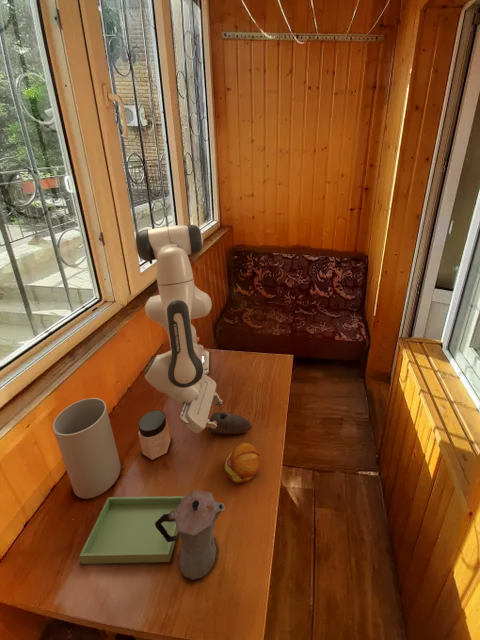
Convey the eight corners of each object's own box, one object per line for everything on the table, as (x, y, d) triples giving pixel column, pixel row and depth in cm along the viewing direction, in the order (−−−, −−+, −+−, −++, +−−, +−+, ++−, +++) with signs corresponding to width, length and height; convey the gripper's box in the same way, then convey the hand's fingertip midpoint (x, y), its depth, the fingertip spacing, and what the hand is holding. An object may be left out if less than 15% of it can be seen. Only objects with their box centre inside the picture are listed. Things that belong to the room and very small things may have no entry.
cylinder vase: (123, 453, 102) (109, 393, 94) (118, 491, 91) (101, 427, 82) (79, 466, 98) (60, 404, 89) (68, 506, 87) (45, 441, 78)
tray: (110, 504, 88) (108, 496, 87) (185, 503, 88) (184, 495, 87) (81, 563, 75) (79, 555, 74) (169, 562, 76) (168, 554, 75)
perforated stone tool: (253, 426, 112) (252, 412, 110) (250, 439, 107) (249, 424, 105) (213, 423, 113) (211, 408, 111) (208, 435, 109) (206, 420, 106)
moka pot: (230, 571, 74) (225, 517, 67) (161, 596, 70) (149, 540, 63) (226, 526, 83) (221, 474, 76) (164, 546, 79) (154, 493, 72)
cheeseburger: (240, 447, 104) (244, 428, 100) (264, 470, 100) (270, 452, 95) (217, 470, 97) (221, 452, 92) (242, 497, 92) (247, 479, 87)
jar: (144, 464, 99) (139, 436, 95) (140, 444, 105) (134, 417, 101) (173, 450, 103) (169, 423, 99) (167, 432, 110) (163, 406, 106)
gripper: (184, 412, 93) (219, 436, 97) (201, 366, 113) (229, 388, 116) (171, 423, 95) (205, 446, 98) (189, 376, 114) (218, 397, 117)
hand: (218, 414), depth 107 cm, fingers open, 8 cm apart
